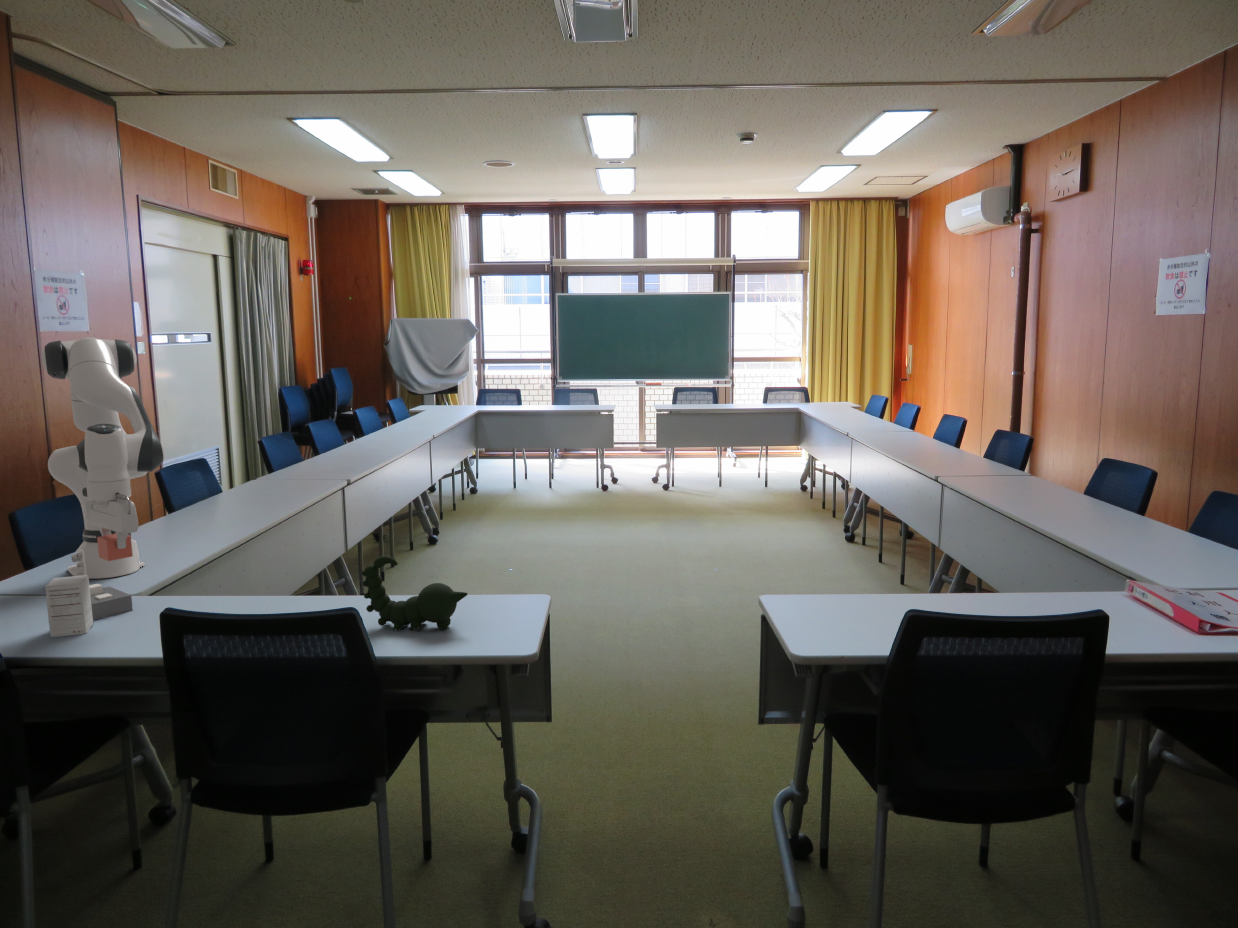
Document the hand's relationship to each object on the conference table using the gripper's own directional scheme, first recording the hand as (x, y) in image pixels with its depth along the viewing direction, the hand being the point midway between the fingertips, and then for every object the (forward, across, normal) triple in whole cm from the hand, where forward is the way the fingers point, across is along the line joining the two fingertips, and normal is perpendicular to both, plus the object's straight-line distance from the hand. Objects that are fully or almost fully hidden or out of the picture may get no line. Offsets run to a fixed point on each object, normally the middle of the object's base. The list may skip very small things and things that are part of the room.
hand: (114, 546), depth 196 cm
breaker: (+17, +15, 0) cm, 23 cm away
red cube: (+3, 0, 0) cm, 3 cm away
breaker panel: (+19, +12, 0) cm, 22 cm away
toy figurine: (+19, -64, -40) cm, 78 cm away
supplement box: (+19, +1, +10) cm, 22 cm away
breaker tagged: (+18, +9, 0) cm, 21 cm away
